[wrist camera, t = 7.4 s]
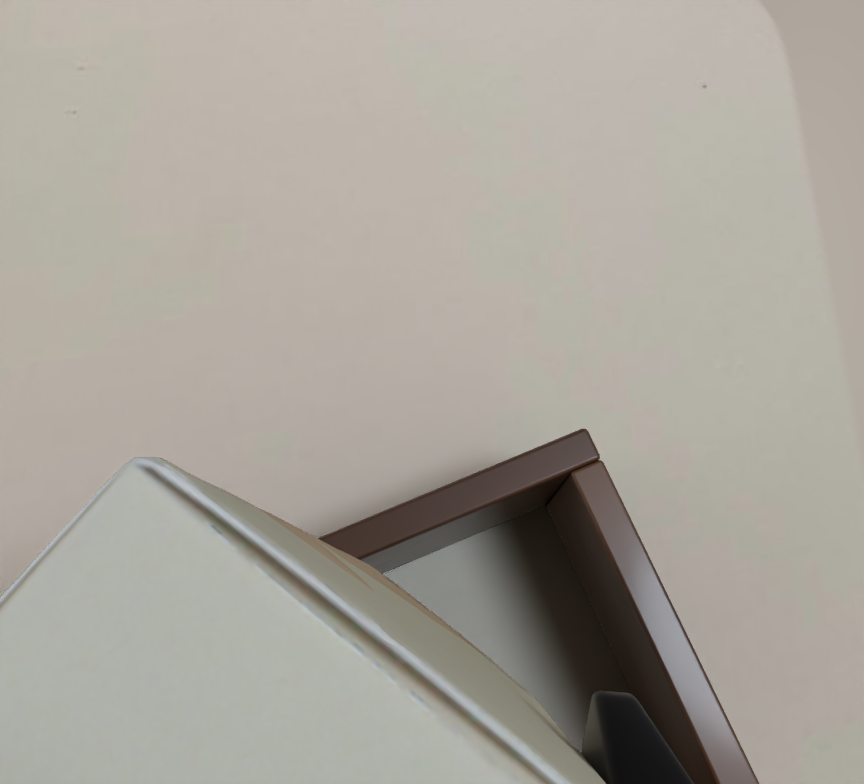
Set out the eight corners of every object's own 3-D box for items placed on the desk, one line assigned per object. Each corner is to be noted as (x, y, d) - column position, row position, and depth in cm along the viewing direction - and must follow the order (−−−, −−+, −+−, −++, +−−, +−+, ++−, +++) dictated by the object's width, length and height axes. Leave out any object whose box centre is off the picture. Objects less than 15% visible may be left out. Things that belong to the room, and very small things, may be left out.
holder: (720, 813, 20) (804, 873, 15) (329, 995, 19) (285, 1120, 14) (559, 468, 22) (586, 426, 18) (209, 614, 22) (138, 612, 17)
